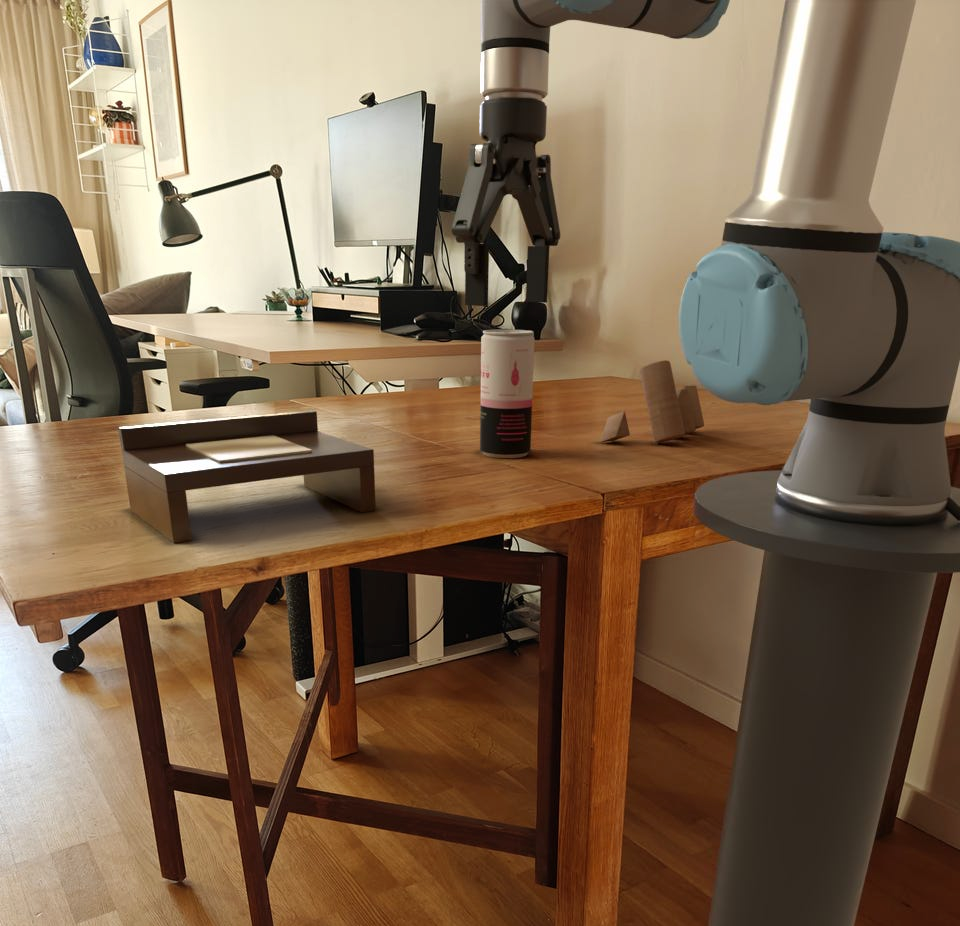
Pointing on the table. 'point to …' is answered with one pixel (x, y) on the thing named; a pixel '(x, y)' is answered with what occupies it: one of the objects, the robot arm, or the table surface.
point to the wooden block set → (661, 407)
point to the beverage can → (506, 393)
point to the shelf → (237, 463)
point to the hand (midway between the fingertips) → (507, 304)
